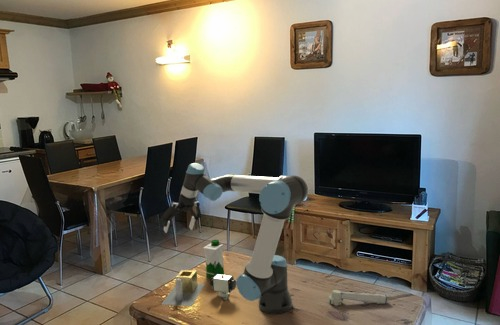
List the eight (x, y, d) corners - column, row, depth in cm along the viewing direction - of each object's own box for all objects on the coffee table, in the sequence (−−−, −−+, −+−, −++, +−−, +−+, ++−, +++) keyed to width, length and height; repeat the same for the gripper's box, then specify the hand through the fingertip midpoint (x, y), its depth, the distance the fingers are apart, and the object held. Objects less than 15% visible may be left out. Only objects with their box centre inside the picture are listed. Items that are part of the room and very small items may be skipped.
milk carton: (226, 276, 215) (224, 240, 212) (217, 283, 208) (214, 246, 205) (213, 273, 220) (210, 238, 217) (203, 280, 212) (200, 244, 209)
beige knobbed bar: (388, 298, 177) (330, 291, 178) (385, 311, 178) (329, 305, 179) (385, 292, 182) (329, 285, 183) (382, 305, 183) (327, 299, 184)
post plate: (205, 286, 204) (203, 264, 203) (192, 308, 183) (190, 284, 181) (177, 285, 207) (175, 263, 205) (161, 307, 186) (158, 283, 184)
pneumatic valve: (233, 302, 187) (231, 278, 185) (210, 299, 191) (209, 275, 189) (238, 297, 192) (236, 273, 190) (216, 293, 196) (214, 270, 194)
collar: (197, 285, 203) (196, 270, 202) (192, 293, 195) (191, 277, 194) (182, 285, 204) (181, 270, 203) (177, 292, 196) (175, 277, 195)
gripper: (208, 188, 197) (197, 222, 206) (160, 190, 183) (151, 227, 192) (215, 197, 192) (203, 232, 201) (166, 199, 178) (156, 237, 186)
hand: (178, 229), depth 196 cm, fingers open, 13 cm apart
